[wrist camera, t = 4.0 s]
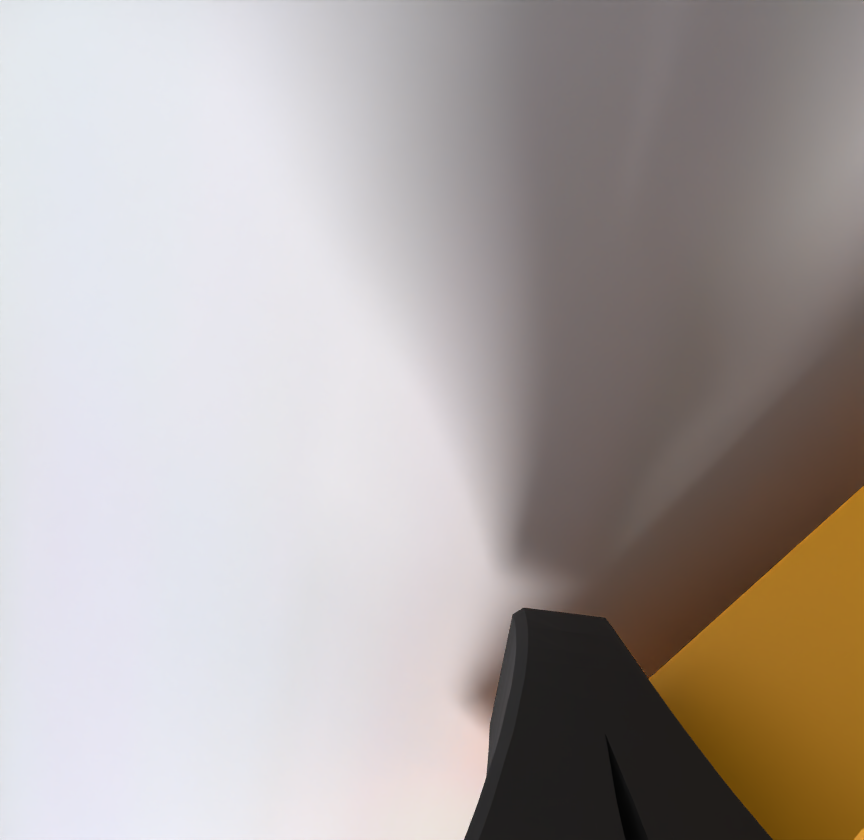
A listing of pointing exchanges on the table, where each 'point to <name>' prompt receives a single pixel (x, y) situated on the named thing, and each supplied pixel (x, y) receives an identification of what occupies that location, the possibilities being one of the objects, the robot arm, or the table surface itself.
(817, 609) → the orange notched block
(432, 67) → the table surface
